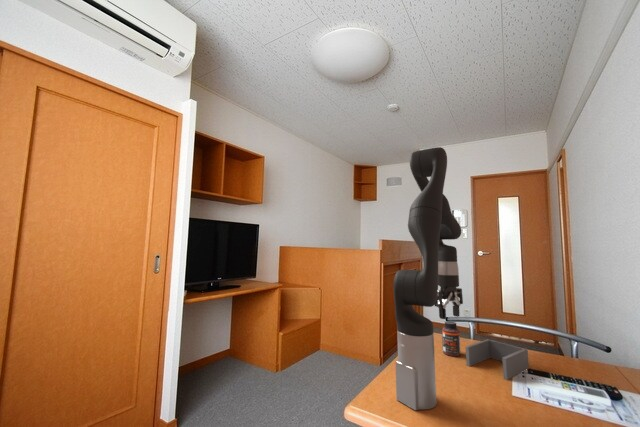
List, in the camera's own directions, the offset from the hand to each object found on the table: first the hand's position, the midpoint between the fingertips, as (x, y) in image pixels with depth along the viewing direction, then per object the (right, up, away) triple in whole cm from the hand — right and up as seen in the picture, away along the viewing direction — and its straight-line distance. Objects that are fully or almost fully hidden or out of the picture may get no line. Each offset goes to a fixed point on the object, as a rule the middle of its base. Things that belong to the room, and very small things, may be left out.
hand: (449, 317), depth 107 cm
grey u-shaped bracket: (+10, -12, -13) cm, 20 cm away
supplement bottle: (0, -13, -1) cm, 13 cm away
